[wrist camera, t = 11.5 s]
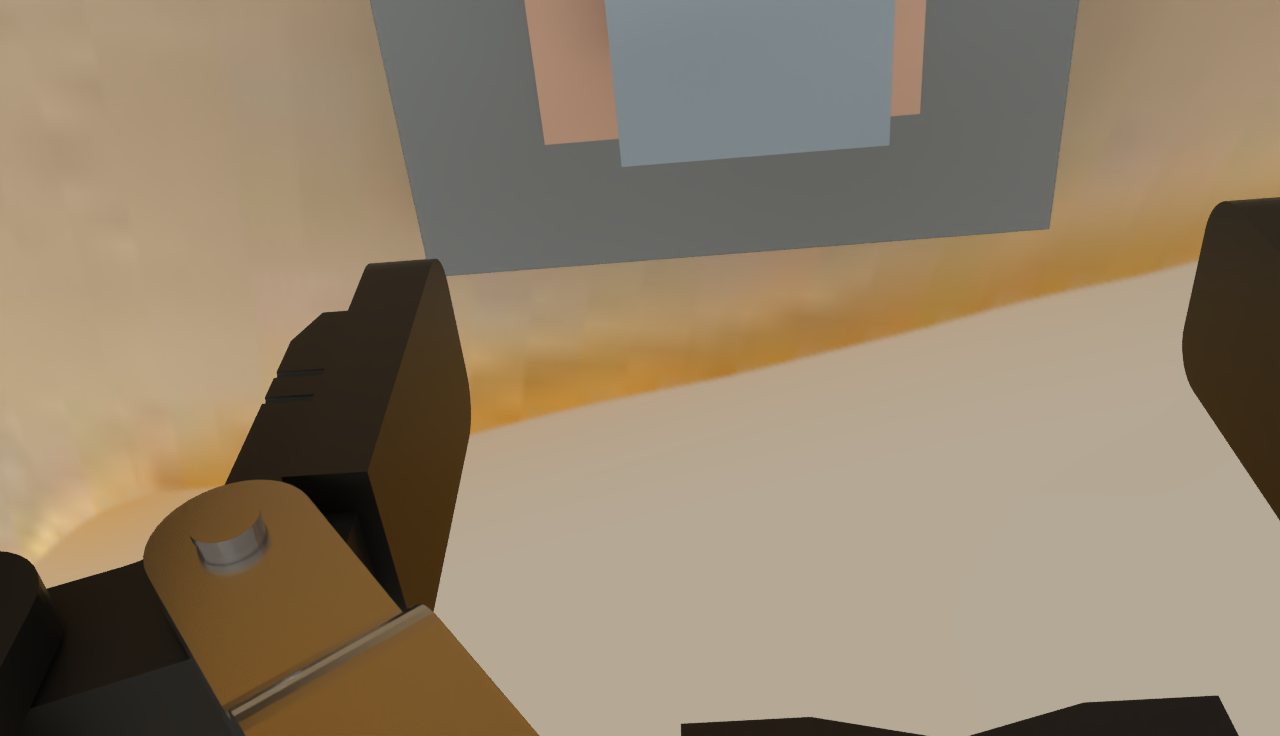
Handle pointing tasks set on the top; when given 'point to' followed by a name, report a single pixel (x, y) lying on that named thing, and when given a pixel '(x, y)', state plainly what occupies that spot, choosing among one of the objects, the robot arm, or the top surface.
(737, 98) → the slate block
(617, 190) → the base plinth
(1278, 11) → the top surface
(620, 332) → the top surface
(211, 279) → the top surface
